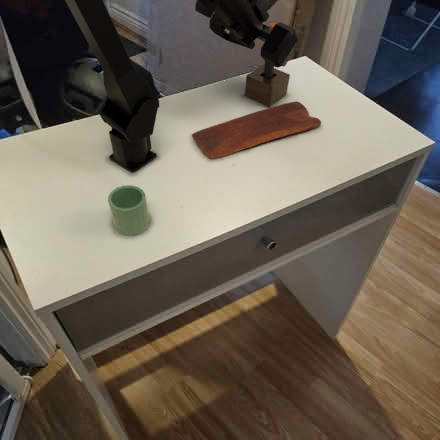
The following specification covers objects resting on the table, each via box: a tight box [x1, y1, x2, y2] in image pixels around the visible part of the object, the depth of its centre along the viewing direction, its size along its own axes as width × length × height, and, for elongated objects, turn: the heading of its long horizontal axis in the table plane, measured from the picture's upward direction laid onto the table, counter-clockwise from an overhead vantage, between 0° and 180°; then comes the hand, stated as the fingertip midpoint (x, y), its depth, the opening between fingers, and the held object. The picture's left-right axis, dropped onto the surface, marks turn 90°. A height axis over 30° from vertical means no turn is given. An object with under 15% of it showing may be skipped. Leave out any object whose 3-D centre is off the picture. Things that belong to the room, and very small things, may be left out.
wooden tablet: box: [191, 101, 322, 159], centre depth 79 cm, size 27×10×2 cm, turn 118°
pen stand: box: [244, 63, 291, 108], centre depth 86 cm, size 7×7×4 cm
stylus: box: [263, 22, 278, 80], centre depth 82 cm, size 2×2×14 cm
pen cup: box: [107, 184, 150, 237], centre depth 62 cm, size 6×6×6 cm
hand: (269, 55), depth 81 cm, fingers open, 9 cm apart
